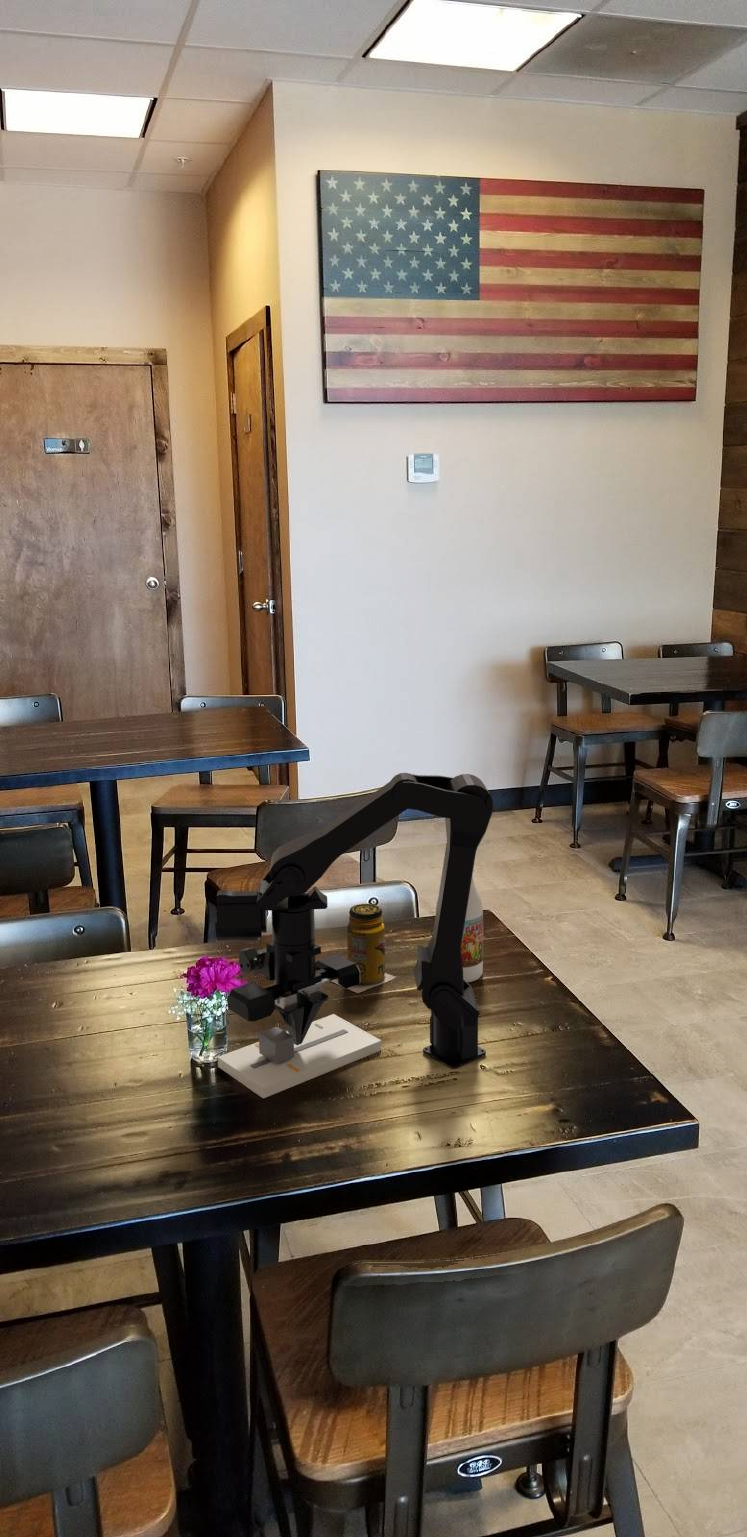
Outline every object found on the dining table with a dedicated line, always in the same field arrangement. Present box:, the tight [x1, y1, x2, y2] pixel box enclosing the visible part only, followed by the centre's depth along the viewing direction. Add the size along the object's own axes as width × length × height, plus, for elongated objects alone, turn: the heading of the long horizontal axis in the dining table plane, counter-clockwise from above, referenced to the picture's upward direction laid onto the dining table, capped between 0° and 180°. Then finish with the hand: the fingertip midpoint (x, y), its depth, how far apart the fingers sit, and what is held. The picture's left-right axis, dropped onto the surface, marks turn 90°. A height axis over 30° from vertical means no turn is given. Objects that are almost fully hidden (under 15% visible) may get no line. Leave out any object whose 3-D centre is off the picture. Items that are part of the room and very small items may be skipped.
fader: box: [258, 1026, 294, 1064], centre depth 153 cm, size 4×3×3 cm
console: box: [217, 1013, 382, 1099], centre depth 157 cm, size 11×20×2 cm, turn 129°
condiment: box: [331, 903, 397, 994], centre depth 181 cm, size 7×8×12 cm
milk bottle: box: [434, 868, 484, 984], centre depth 181 cm, size 8×8×20 cm
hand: (297, 1043), depth 156 cm, fingers closed
